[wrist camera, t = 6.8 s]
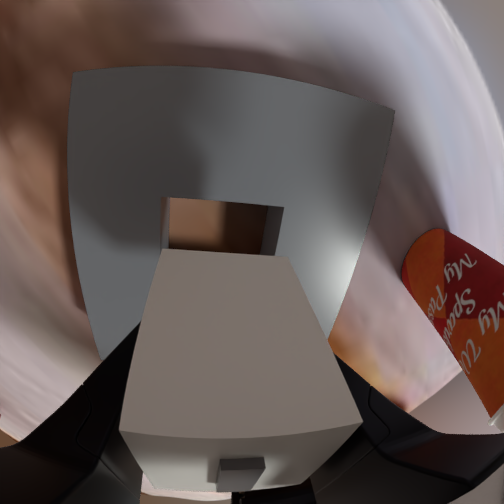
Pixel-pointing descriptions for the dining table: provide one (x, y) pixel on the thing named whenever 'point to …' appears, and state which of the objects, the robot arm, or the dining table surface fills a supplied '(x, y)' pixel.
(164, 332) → the block
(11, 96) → the dining table surface
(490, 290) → the paper cup
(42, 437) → the robot arm
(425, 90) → the dining table surface
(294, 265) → the socket plate
